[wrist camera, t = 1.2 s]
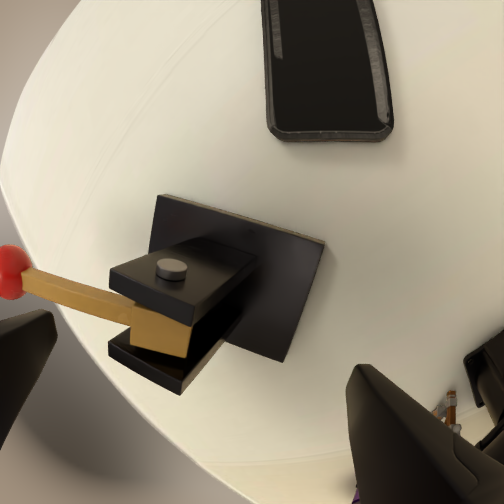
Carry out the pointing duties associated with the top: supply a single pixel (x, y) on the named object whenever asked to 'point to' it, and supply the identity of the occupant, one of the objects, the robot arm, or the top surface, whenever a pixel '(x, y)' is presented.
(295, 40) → the phone
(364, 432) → the robot arm
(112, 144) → the top surface
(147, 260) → the bracket
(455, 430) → the wooden post with brackets
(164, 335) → the lever
